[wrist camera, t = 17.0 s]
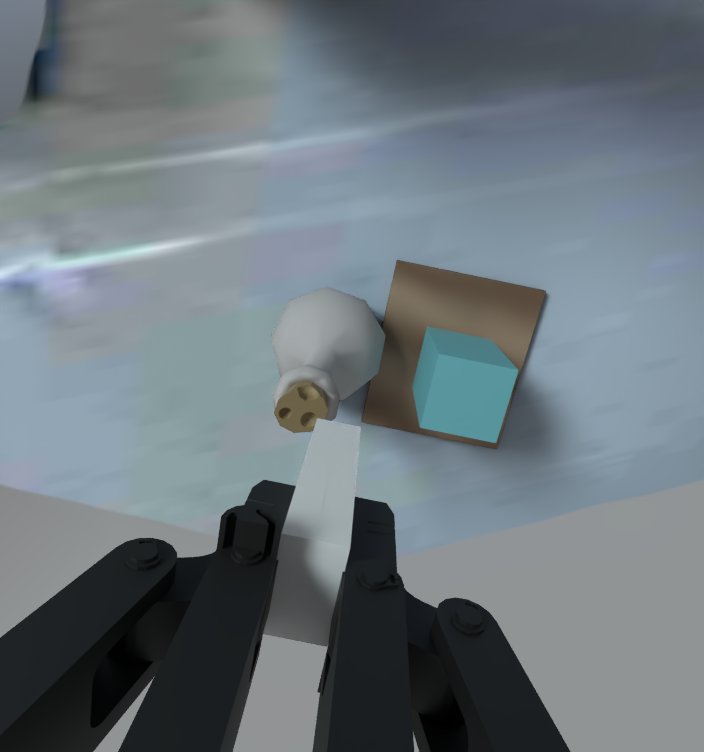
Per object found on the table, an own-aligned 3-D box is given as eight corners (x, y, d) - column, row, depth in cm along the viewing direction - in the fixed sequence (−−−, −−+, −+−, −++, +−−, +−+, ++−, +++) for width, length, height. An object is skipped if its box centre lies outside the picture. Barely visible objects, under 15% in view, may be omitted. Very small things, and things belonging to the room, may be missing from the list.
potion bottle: (297, 268, 42) (240, 305, 25) (400, 306, 42) (413, 367, 25) (266, 365, 44) (194, 460, 27) (363, 400, 45) (352, 514, 28)
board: (397, 259, 41) (397, 260, 41) (543, 290, 41) (545, 291, 41) (361, 419, 45) (361, 421, 45) (495, 446, 45) (496, 449, 45)
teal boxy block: (427, 326, 41) (438, 353, 33) (490, 339, 41) (518, 370, 33) (412, 386, 43) (419, 427, 34) (473, 399, 43) (496, 443, 34)
